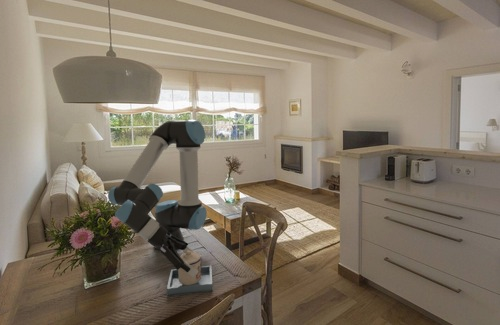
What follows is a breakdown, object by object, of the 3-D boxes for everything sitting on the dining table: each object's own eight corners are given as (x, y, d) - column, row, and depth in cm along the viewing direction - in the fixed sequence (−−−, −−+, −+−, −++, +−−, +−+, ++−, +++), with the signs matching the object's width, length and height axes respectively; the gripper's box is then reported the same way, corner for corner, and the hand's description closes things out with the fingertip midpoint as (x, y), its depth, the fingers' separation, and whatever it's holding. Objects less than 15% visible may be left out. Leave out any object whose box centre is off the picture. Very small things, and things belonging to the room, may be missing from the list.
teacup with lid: (201, 284, 104) (200, 255, 103) (176, 287, 103) (175, 257, 101) (202, 268, 116) (201, 242, 114) (180, 270, 115) (178, 243, 113)
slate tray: (171, 276, 115) (171, 269, 115) (211, 271, 118) (211, 265, 118) (167, 296, 102) (166, 288, 102) (212, 290, 105) (212, 283, 104)
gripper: (152, 227, 117) (191, 258, 121) (139, 254, 93) (188, 291, 98) (164, 214, 117) (203, 245, 121) (154, 238, 93) (202, 275, 98)
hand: (196, 266), depth 109 cm, fingers closed on teacup with lid, 12 cm apart
